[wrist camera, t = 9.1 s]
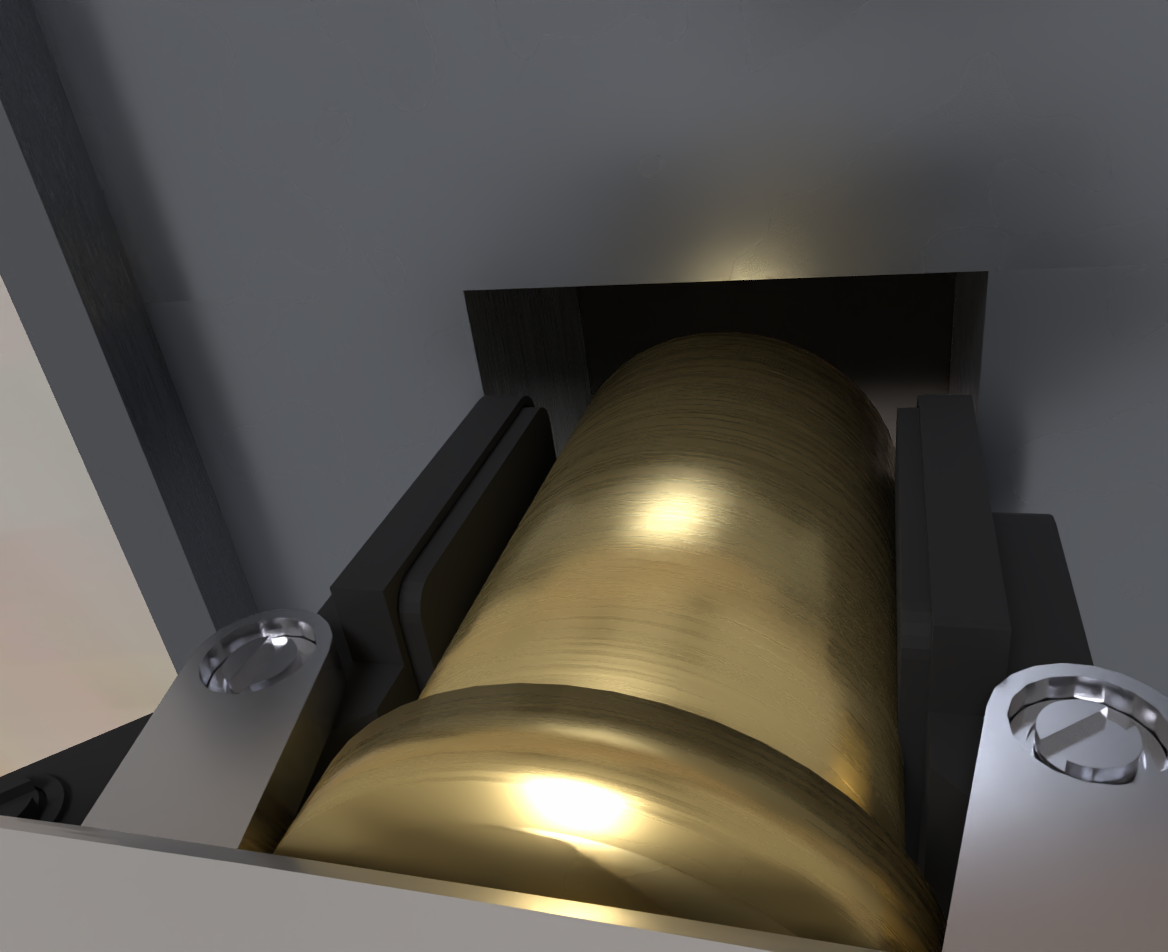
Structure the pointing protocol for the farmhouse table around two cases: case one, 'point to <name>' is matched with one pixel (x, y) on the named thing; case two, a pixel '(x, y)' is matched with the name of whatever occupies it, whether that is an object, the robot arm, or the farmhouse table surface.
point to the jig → (565, 246)
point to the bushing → (671, 672)
